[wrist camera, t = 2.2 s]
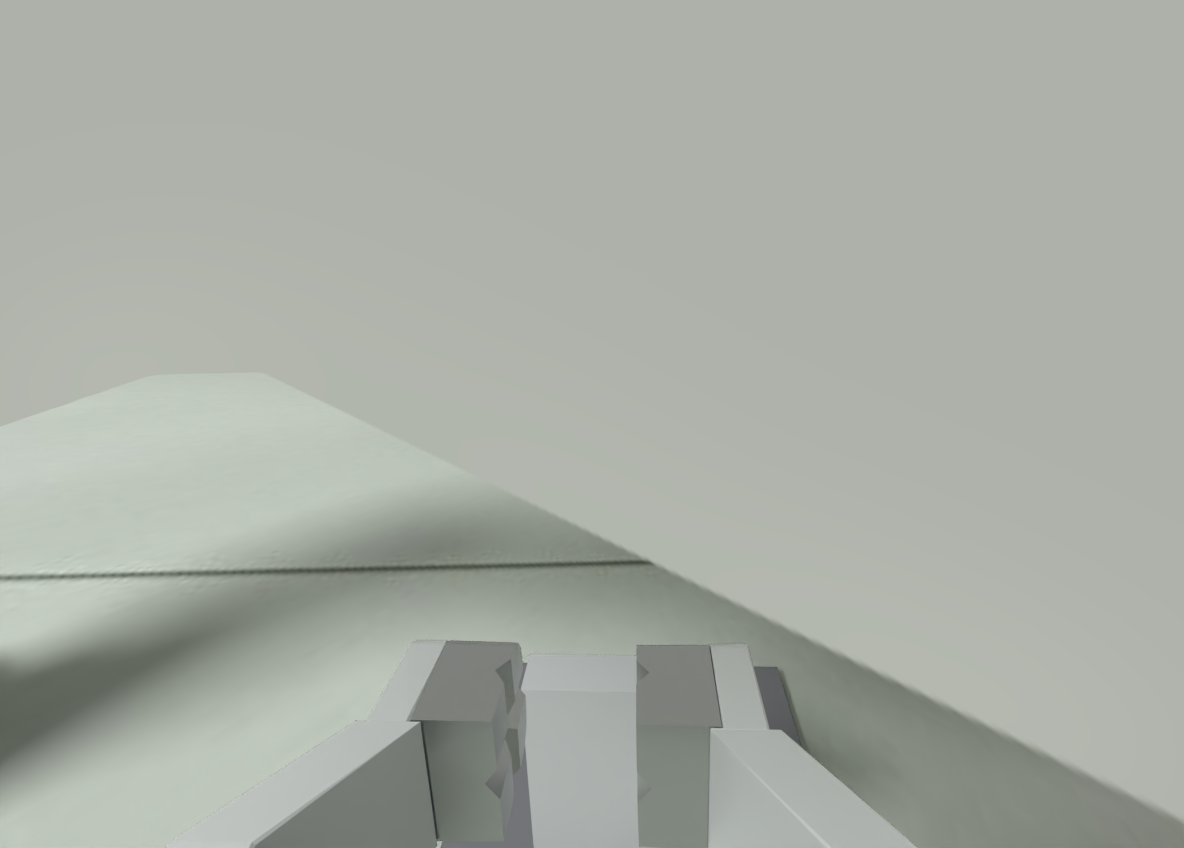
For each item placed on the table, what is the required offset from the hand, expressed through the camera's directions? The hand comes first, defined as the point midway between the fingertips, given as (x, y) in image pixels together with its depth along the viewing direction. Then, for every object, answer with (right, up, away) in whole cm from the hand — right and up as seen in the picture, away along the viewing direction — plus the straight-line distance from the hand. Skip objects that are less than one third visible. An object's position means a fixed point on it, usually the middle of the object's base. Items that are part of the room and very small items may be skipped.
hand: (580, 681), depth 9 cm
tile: (+2, -17, +18) cm, 25 cm away
